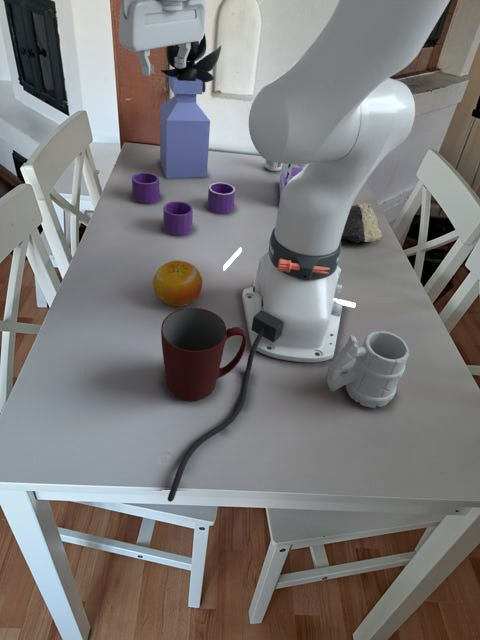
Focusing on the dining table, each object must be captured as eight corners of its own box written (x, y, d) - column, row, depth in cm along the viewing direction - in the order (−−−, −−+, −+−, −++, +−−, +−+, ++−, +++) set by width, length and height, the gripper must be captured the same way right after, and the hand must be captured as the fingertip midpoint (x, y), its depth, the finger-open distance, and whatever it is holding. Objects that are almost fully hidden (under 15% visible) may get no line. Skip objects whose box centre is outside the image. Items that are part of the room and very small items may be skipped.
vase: (207, 158, 133) (216, 14, 110) (217, 176, 125) (229, 24, 102) (157, 159, 130) (155, 9, 107) (164, 178, 121) (163, 20, 98)
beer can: (281, 166, 135) (288, 123, 127) (280, 173, 131) (288, 129, 123) (265, 164, 135) (271, 121, 127) (264, 170, 131) (270, 127, 124)
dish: (189, 237, 101) (190, 217, 98) (161, 234, 101) (161, 213, 98) (193, 223, 106) (194, 203, 103) (166, 220, 106) (166, 199, 103)
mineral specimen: (393, 224, 103) (332, 222, 98) (380, 252, 107) (321, 251, 103) (368, 195, 111) (310, 192, 107) (357, 222, 116) (302, 220, 112)
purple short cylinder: (232, 215, 110) (234, 196, 107) (205, 212, 110) (207, 192, 107) (234, 203, 115) (236, 184, 112) (209, 200, 115) (210, 180, 112)
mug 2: (401, 407, 72) (430, 352, 64) (329, 415, 69) (350, 358, 61) (380, 370, 77) (404, 315, 69) (312, 376, 74) (329, 320, 67)
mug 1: (234, 357, 76) (242, 305, 69) (245, 400, 69) (255, 348, 62) (159, 362, 73) (158, 308, 66) (163, 408, 67) (163, 354, 60)
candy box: (304, 210, 116) (318, 144, 105) (280, 208, 116) (292, 141, 105) (299, 185, 127) (312, 123, 116) (278, 183, 126) (288, 120, 115)
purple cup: (156, 205, 110) (155, 185, 107) (130, 202, 110) (128, 181, 107) (161, 193, 115) (161, 174, 112) (136, 190, 115) (135, 170, 112)
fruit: (137, 276, 83) (162, 250, 79) (173, 274, 90) (197, 250, 85) (156, 317, 81) (183, 293, 77) (191, 312, 88) (217, 290, 83)
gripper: (135, -10, 74) (138, 84, 83) (213, -14, 88) (208, 67, 97) (107, -17, 76) (113, 75, 86) (187, -20, 90) (185, 60, 99)
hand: (164, 71), depth 91 cm, fingers open, 8 cm apart
